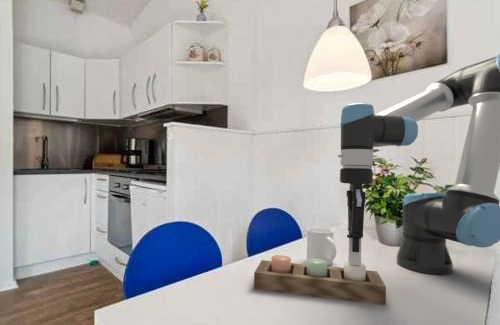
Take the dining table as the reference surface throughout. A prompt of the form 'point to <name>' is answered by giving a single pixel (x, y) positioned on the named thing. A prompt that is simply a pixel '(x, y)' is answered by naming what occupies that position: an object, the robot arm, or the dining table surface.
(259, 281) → the wooden compartment tray
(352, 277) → the white short cylinder
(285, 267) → the peach rounded piece
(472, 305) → the dining table surface
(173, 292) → the dining table surface
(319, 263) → the pale green rounded piece
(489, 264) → the dining table surface
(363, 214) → the robot arm
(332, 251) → the mug
